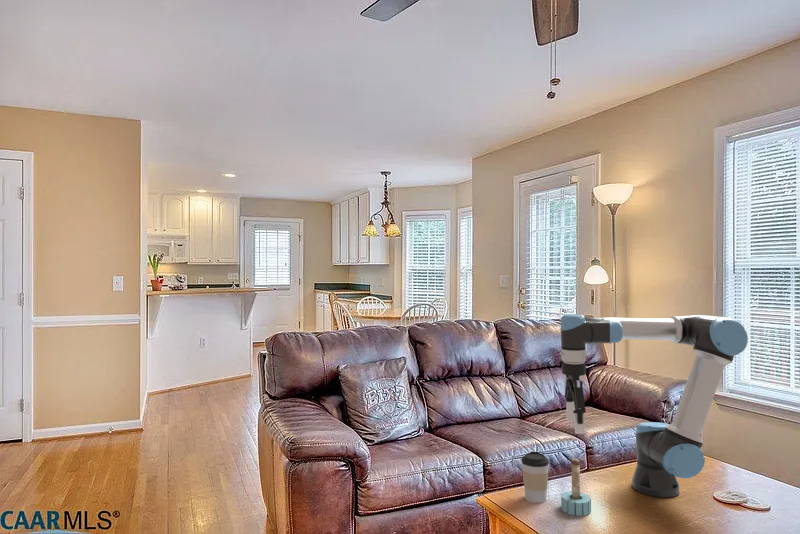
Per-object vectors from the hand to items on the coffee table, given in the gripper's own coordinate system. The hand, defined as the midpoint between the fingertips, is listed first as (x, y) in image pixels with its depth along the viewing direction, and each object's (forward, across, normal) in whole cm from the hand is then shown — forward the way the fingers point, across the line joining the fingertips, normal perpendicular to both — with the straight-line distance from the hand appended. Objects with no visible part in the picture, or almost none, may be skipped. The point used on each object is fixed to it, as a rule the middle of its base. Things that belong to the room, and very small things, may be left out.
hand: (575, 427), depth 171 cm
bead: (+27, 0, 0) cm, 27 cm away
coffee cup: (+27, -7, -12) cm, 30 cm away
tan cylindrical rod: (+27, 0, 0) cm, 27 cm away
